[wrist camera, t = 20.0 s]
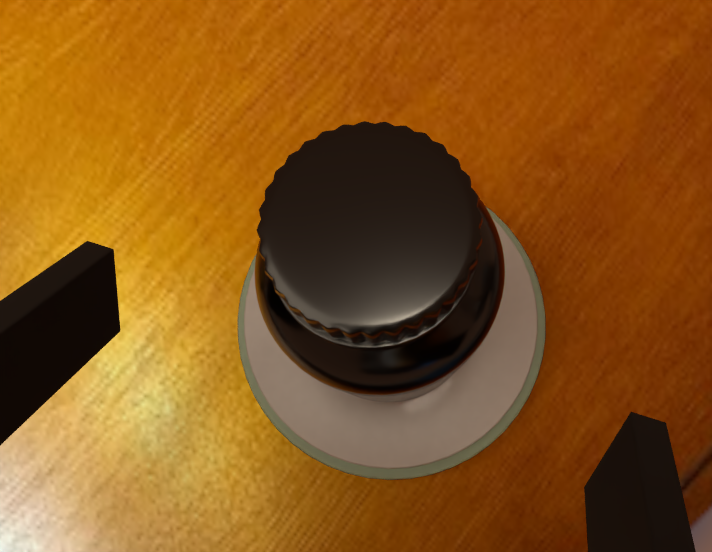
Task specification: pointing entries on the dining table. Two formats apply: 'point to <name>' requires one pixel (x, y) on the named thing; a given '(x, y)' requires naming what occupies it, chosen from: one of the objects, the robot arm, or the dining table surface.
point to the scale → (412, 417)
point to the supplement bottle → (377, 262)
